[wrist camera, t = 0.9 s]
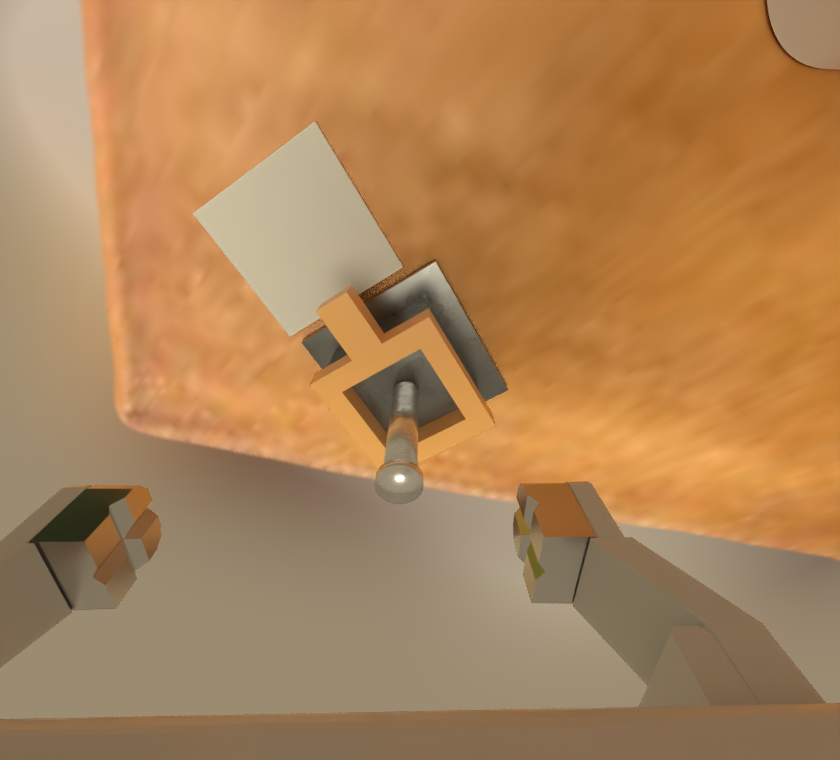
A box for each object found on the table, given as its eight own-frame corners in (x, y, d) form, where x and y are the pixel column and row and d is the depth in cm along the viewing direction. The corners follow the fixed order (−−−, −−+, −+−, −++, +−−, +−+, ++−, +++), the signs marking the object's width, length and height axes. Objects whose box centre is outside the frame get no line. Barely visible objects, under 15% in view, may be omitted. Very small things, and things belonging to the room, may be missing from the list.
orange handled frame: (397, 255, 33) (395, 261, 31) (491, 412, 39) (495, 425, 37) (280, 328, 36) (271, 338, 34) (386, 462, 42) (385, 478, 40)
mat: (316, 121, 35) (314, 121, 34) (403, 266, 40) (403, 267, 40) (195, 212, 38) (192, 213, 38) (291, 335, 43) (289, 336, 43)
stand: (435, 259, 40) (445, 328, 22) (506, 384, 46) (558, 517, 28) (304, 338, 44) (224, 451, 26) (386, 444, 50) (367, 594, 32)
